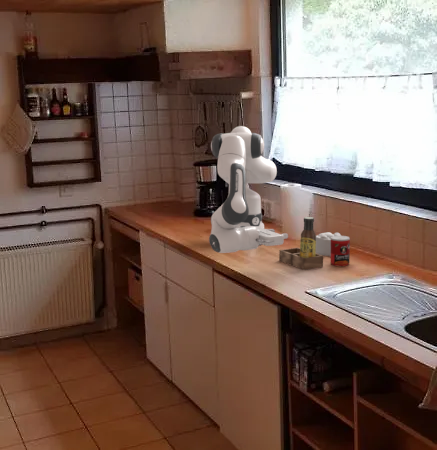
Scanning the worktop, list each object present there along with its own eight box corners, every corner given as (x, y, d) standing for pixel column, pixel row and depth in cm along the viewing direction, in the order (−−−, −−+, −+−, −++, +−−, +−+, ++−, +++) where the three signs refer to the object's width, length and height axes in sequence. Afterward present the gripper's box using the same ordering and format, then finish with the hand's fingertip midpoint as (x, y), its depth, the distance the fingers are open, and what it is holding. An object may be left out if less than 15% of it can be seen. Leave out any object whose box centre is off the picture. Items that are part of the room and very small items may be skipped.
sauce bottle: (297, 267, 288) (297, 218, 284) (302, 263, 293) (302, 215, 289) (312, 268, 285) (313, 219, 281) (317, 265, 290) (318, 216, 286)
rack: (279, 260, 299) (279, 250, 298) (297, 257, 303) (297, 247, 302) (304, 269, 283) (304, 258, 282) (322, 266, 287) (323, 255, 287)
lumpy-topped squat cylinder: (330, 249, 319) (330, 229, 317) (350, 254, 308) (350, 234, 306) (312, 252, 313) (312, 232, 312) (331, 257, 302) (331, 237, 301)
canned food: (334, 266, 287) (334, 240, 285) (327, 262, 295) (327, 236, 292) (352, 265, 288) (352, 238, 286) (345, 261, 296) (345, 235, 294)
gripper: (264, 234, 265) (295, 230, 271) (236, 225, 282) (266, 221, 289) (264, 251, 266) (295, 246, 272) (237, 240, 284) (266, 236, 290)
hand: (280, 233), depth 281 cm, fingers open, 8 cm apart
